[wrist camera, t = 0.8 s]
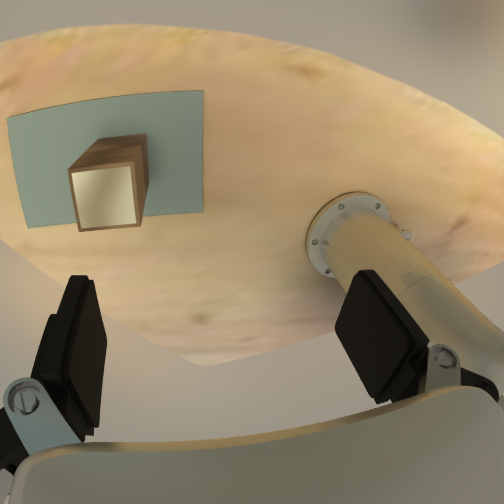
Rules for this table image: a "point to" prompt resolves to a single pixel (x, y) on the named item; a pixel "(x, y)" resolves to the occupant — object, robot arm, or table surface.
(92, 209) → the block
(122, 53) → the table surface
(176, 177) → the mat
